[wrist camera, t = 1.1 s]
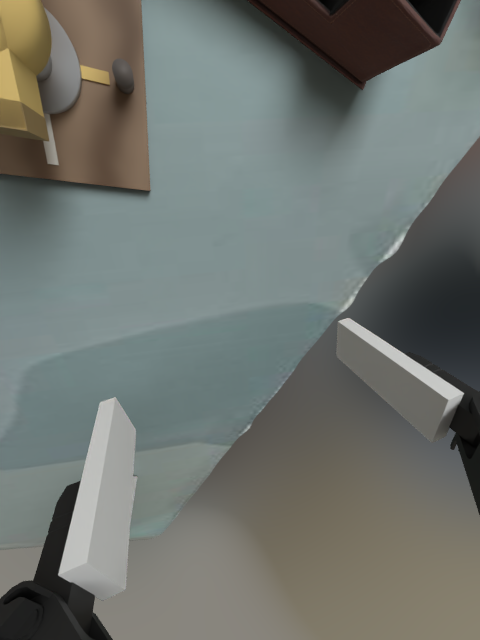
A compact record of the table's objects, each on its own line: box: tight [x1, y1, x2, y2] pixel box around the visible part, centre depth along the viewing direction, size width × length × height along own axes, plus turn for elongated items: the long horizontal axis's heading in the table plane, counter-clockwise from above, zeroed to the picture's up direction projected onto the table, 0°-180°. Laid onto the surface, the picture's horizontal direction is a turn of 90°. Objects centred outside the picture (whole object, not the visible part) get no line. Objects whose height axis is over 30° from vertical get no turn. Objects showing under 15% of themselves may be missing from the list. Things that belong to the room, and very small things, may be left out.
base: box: [0, 0, 150, 191], centre depth 21 cm, size 20×20×8 cm
